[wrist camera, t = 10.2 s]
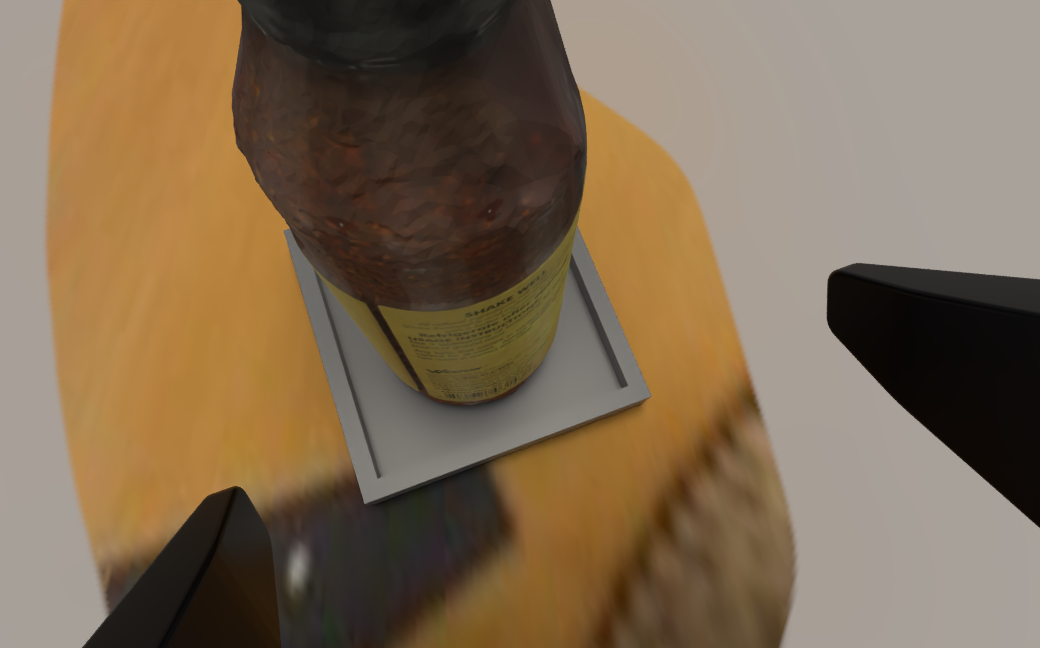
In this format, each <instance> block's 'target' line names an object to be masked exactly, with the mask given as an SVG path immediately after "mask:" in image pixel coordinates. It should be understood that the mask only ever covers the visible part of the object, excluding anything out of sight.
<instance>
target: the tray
mask: <svg viewBox="0 0 1040 648" xmlns="http://www.w3.org/2000/svg"><path fill="white" fill-rule="evenodd" d="M284 234H285V237H286V240H287V244H288V247H289V251H290V254H291V257H292V261H293V264H294V267H295V271H296V274H297V278H298V281H299V284H300V288H301V291H302V294H303V298H304V301H305V305H306V308H307V311H308V315H309V318H310V321H311V325H312V328H313V331H314V335H315V338H316V342H317V345H318V348H319V352H320V355H321V358H322V362H323V365H324V369H325V372H326V375H327V379H328V382H329V385H330V389H331V392H332V396H333V399H334V402H335V406H336V409H337V412H338V416H339V419H340V423H341V426H342V429H343V433H344V436H345V439H346V443H347V446H348V449H349V453H350V456H351V460H352V463H353V466H354V470H355V473H356V476H357V480H358V483H359V487H360V490H361V493H362V497H363V500H364V503H365V504H369V505H374V504H377V503H380V502H382V501H385V500H388V499H390V498H393V497H396V496H398V495H401V494H404V493H406V492H409V491H412V490H414V489H417V488H420V487H422V486H425V485H427V484H430V483H433V482H435V481H438V480H441V479H443V478H446V477H449V476H451V475H454V474H457V473H459V472H462V471H465V470H467V469H470V468H473V467H475V466H478V465H481V464H483V463H486V462H489V461H491V460H494V459H497V458H499V457H502V456H505V455H507V454H510V453H513V452H515V451H518V450H520V449H523V448H526V447H528V446H531V445H534V444H536V443H539V442H542V441H544V440H547V439H550V438H552V437H555V436H558V435H560V434H563V433H566V432H568V431H571V430H574V429H576V428H579V427H582V426H584V425H587V424H590V423H592V422H595V421H598V420H600V419H603V418H606V417H608V416H611V415H614V414H616V413H619V412H621V411H624V410H627V409H629V408H632V407H635V406H637V405H640V404H642V403H643V402H645V401H646V400H647V399H649V398H650V397H651V394H650V392H649V389H648V387H647V385H646V382H645V380H644V378H643V376H642V373H641V371H640V369H639V366H638V364H637V362H636V359H635V357H634V355H633V353H632V350H631V348H630V346H629V343H628V341H627V339H626V337H625V334H624V332H623V330H622V327H621V325H620V323H619V320H618V318H617V316H616V314H615V311H614V309H613V307H612V304H611V302H610V300H609V297H608V295H607V293H606V291H605V288H604V286H603V284H602V281H601V279H600V277H599V275H598V272H597V270H596V268H595V265H594V263H593V261H592V258H591V256H590V254H589V252H588V249H587V247H586V245H585V242H584V240H583V238H582V235H581V233H580V231H579V229H578V226H577V227H576V233H575V238H574V243H573V248H572V253H571V258H570V263H569V269H568V274H567V279H566V284H565V290H564V296H563V302H562V306H561V311H560V316H559V321H558V326H557V330H556V334H555V338H554V340H553V343H552V345H551V347H550V349H549V351H548V352H547V354H546V356H545V357H544V359H543V361H542V363H541V364H540V365H539V367H538V368H537V369H536V371H535V372H534V373H533V374H532V375H531V376H530V378H528V379H527V380H526V381H525V383H524V384H523V385H521V386H520V387H519V388H518V389H517V390H516V392H514V393H512V394H510V395H508V396H506V397H504V398H502V399H496V400H494V401H488V402H485V403H479V404H475V405H472V406H470V405H460V406H457V405H451V404H445V403H440V402H437V401H434V400H431V399H430V398H428V397H427V396H426V395H425V394H424V393H422V392H420V391H416V390H415V389H413V388H412V387H410V386H408V385H407V384H406V383H405V382H403V381H402V380H401V379H400V378H399V377H398V376H397V375H396V374H395V373H394V372H393V371H392V370H391V369H390V367H389V366H388V365H387V363H386V362H385V361H384V359H383V358H382V357H381V356H380V354H379V353H378V352H377V350H376V349H375V348H374V346H373V345H372V344H371V343H370V341H369V340H368V339H367V337H366V336H365V335H364V333H363V332H362V331H361V329H360V328H359V327H358V326H357V324H356V323H355V322H354V320H353V319H352V318H351V316H350V315H349V314H348V313H347V311H346V310H345V309H344V307H343V306H342V305H341V304H340V302H339V301H338V300H337V298H336V297H335V296H334V294H333V293H332V292H331V291H330V289H329V288H328V287H327V285H326V284H325V283H324V282H323V280H322V279H321V278H320V276H319V275H318V274H317V272H316V271H315V270H314V268H313V267H312V266H311V264H310V263H309V262H308V260H307V259H306V258H305V256H304V255H303V253H302V252H301V250H300V249H299V247H298V245H297V244H296V242H295V239H294V237H293V235H292V233H291V230H290V229H287V230H284Z"/></svg>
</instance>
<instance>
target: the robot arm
mask: <svg viewBox="0 0 1040 648" xmlns="http://www.w3.org/2000/svg"><path fill="white" fill-rule="evenodd" d="M827 285H828V286H827V287H828V288H827V322H828V325H829V328H830V329H831V331H832V333H833V334H834V335H835V336H836V337H837V338H838V339H839V341H840V342H841V343H842V344H843V345H844V346H845V347H846V348H847V349H848V350H849V351H850V352H851V353H852V355H854V356H855V358H856V359H857V360H858V361H859V362H860V363H861V364H862V365H863V366H864V367H865V368H866V370H867V371H868V372H869V373H870V374H871V375H872V376H873V377H874V378H875V379H876V380H877V381H878V382H879V383H880V384H881V386H882V387H884V389H885V390H886V391H887V392H888V393H889V394H890V395H891V396H892V397H893V398H894V399H895V400H896V401H897V402H898V403H899V404H900V405H901V406H902V407H903V408H904V409H906V411H908V412H909V413H910V414H911V415H912V416H913V417H914V418H915V419H917V420H918V421H919V422H920V423H921V424H922V425H923V426H925V427H926V428H927V429H928V430H929V431H930V432H932V433H933V434H934V435H935V436H936V437H937V438H938V439H939V440H940V441H942V442H943V443H944V444H945V445H946V446H947V447H948V448H950V449H951V450H952V451H953V452H954V453H955V454H956V455H957V456H959V457H960V458H961V459H962V460H963V461H964V462H966V463H967V464H968V465H969V466H970V467H971V468H972V469H973V470H975V471H976V472H977V473H978V474H979V475H980V476H981V477H983V478H984V479H985V480H986V481H987V482H988V483H989V484H990V485H992V486H993V487H994V488H995V489H996V490H997V491H998V492H1000V493H1001V494H1002V495H1003V496H1004V497H1005V498H1006V499H1008V500H1009V501H1010V502H1011V503H1012V504H1013V505H1014V506H1015V507H1017V508H1018V509H1019V510H1020V511H1021V512H1022V513H1024V514H1025V515H1026V516H1027V517H1028V518H1029V519H1030V520H1031V521H1032V522H1034V523H1035V524H1036V525H1037V526H1038V527H1039V528H1040V279H1029V278H1017V277H1007V276H996V275H985V274H974V273H963V272H951V271H941V270H930V269H918V268H908V267H897V266H886V265H875V264H863V263H856V264H851V265H848V266H846V267H843V268H840V269H838V270H835V271H833V272H832V273H831V274H830V276H829V278H828V284H827ZM82 648H281V640H280V627H279V617H278V606H277V596H276V586H275V575H274V565H273V555H272V545H271V539H270V535H269V532H268V530H267V528H266V526H265V524H264V522H263V521H262V519H261V517H260V516H259V514H258V512H257V510H256V509H255V507H254V505H253V504H252V502H251V500H250V499H249V497H248V495H247V494H246V492H245V491H244V490H243V489H242V488H241V487H238V486H233V487H230V488H227V489H225V490H222V491H219V492H216V493H213V494H211V495H209V496H207V497H206V498H205V499H204V500H203V501H202V502H201V504H200V505H199V506H198V507H197V508H196V510H195V511H194V512H193V513H192V515H191V516H190V517H189V518H188V519H187V521H186V522H185V523H184V524H183V526H182V527H181V528H180V529H179V530H178V532H177V533H176V534H175V535H174V537H173V538H172V539H171V540H170V541H169V543H168V544H167V545H166V546H165V547H164V549H163V550H162V551H161V552H160V554H159V555H158V556H157V557H156V558H155V560H154V561H153V562H152V563H151V565H150V566H149V567H148V568H147V569H146V571H145V572H144V573H143V574H142V575H141V577H140V578H139V579H138V580H137V582H136V583H135V584H134V585H133V586H132V588H131V589H130V590H129V591H128V593H127V594H126V595H125V596H124V597H123V599H122V600H121V601H120V602H119V603H118V605H117V606H116V607H115V608H114V610H113V611H112V612H111V613H110V614H109V616H108V617H107V618H106V619H105V621H104V622H103V623H102V624H101V625H100V627H99V628H98V629H97V630H96V631H95V633H94V634H93V635H92V636H91V638H90V639H89V640H88V641H87V642H86V644H85V645H84V646H83V647H82Z"/></svg>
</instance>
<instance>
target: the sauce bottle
mask: <svg viewBox="0 0 1040 648" xmlns="http://www.w3.org/2000/svg"><path fill="white" fill-rule="evenodd" d="M238 2H239V3H240V4H241V9H242V31H241V38H240V45H239V51H238V58H237V64H236V71H235V77H234V83H233V89H232V111H233V117H234V130H235V135H236V144H237V146H238V149H239V150H240V151H241V152H242V153H243V154H244V156H245V157H246V159H247V161H248V163H249V165H250V167H251V169H252V171H253V174H254V176H255V180H256V182H257V183H258V184H259V185H260V187H261V189H262V190H263V191H264V193H265V194H266V196H267V197H268V198H269V200H270V201H271V202H272V204H273V205H274V207H275V208H276V210H277V211H278V212H279V213H280V214H281V216H282V217H283V218H284V219H285V221H286V223H287V224H288V226H289V227H290V230H291V233H292V235H293V237H294V239H295V242H296V244H297V245H298V247H299V249H300V250H301V252H302V253H303V255H304V256H305V258H306V259H307V260H308V262H309V263H310V264H311V266H312V267H313V268H314V270H315V271H316V272H317V274H318V275H319V276H320V278H321V279H322V280H323V282H324V283H325V284H326V285H327V287H328V288H329V289H330V291H331V292H332V293H333V294H334V296H335V297H336V298H337V300H338V301H339V302H340V304H341V305H342V306H343V307H344V309H345V310H346V311H347V313H348V314H349V315H350V316H351V318H352V319H353V320H354V322H355V323H356V324H357V326H358V327H359V328H360V329H361V331H362V332H363V333H364V335H365V336H366V337H367V339H368V340H369V341H370V343H371V344H372V345H373V346H374V348H375V349H376V350H377V352H378V353H379V354H380V356H381V357H382V358H383V359H384V361H385V362H386V363H387V365H388V366H389V367H390V369H391V370H392V371H393V372H394V373H395V374H396V375H397V376H398V377H399V378H400V379H401V380H402V381H403V382H405V383H406V384H407V385H408V386H410V387H412V388H413V389H415V390H416V391H420V392H422V393H424V394H425V395H426V396H427V397H428V398H430V399H431V400H434V401H437V402H440V403H445V404H451V405H457V406H460V405H470V406H472V405H475V404H479V403H485V402H488V401H494V400H496V399H502V398H504V397H506V396H508V395H510V394H512V393H514V392H516V390H517V389H518V388H519V387H520V386H521V385H523V384H524V383H525V381H526V380H527V379H528V378H530V376H531V375H532V374H533V373H534V372H535V371H536V369H537V368H538V367H539V365H540V364H541V363H542V361H543V359H544V357H545V356H546V354H547V352H548V351H549V349H550V347H551V345H552V343H553V340H554V338H555V334H556V330H557V326H558V321H559V316H560V311H561V306H562V302H563V296H564V290H565V284H566V279H567V274H568V269H569V263H570V258H571V253H572V248H573V243H574V238H575V233H576V227H577V222H578V217H579V211H580V206H581V201H582V195H583V189H584V184H585V175H586V166H587V133H586V124H585V115H584V111H583V106H582V102H581V97H580V93H579V90H578V87H577V84H576V82H575V79H574V77H573V74H572V71H571V68H570V64H569V61H568V58H567V55H566V51H565V48H564V45H563V41H562V38H561V34H560V31H559V28H558V24H557V21H556V18H555V14H554V11H553V7H552V4H551V1H550V0H238Z"/></svg>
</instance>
